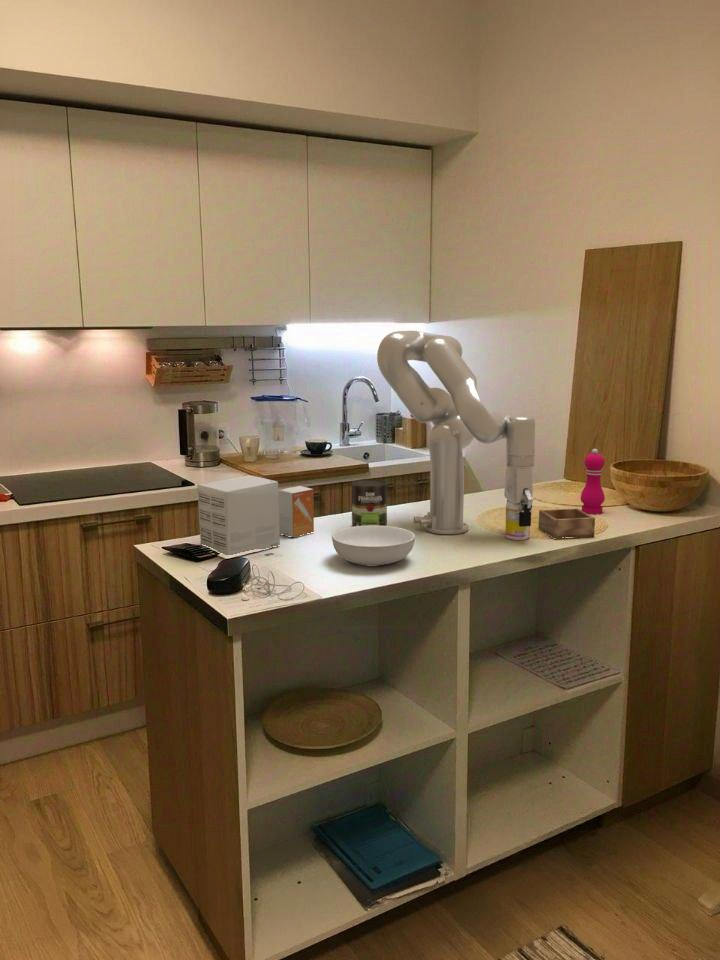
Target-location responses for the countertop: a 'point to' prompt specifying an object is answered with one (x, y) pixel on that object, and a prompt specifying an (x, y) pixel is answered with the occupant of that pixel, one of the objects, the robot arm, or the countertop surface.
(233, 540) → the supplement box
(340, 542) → the serving bowl
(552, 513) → the crate
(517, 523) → the supplement bottle
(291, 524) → the small box
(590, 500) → the pepper mill
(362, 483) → the coffee can
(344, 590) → the countertop surface
